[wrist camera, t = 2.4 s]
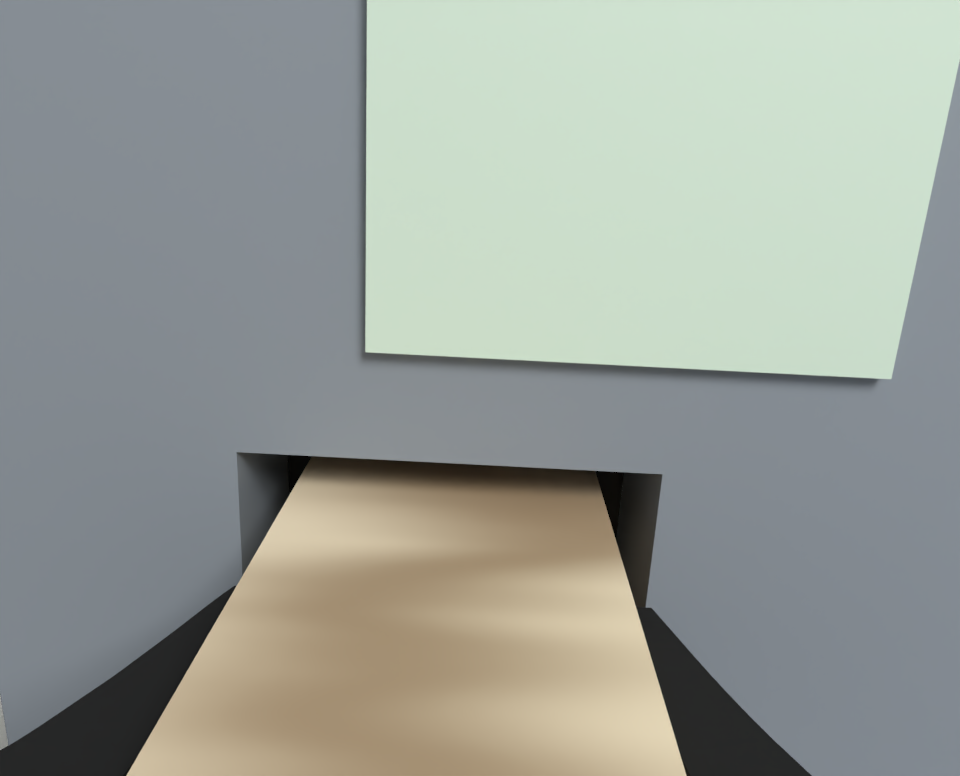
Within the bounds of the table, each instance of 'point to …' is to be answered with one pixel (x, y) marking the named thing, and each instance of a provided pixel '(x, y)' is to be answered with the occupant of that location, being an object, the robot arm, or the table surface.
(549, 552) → the beech block
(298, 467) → the table surface
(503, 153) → the pocket board
